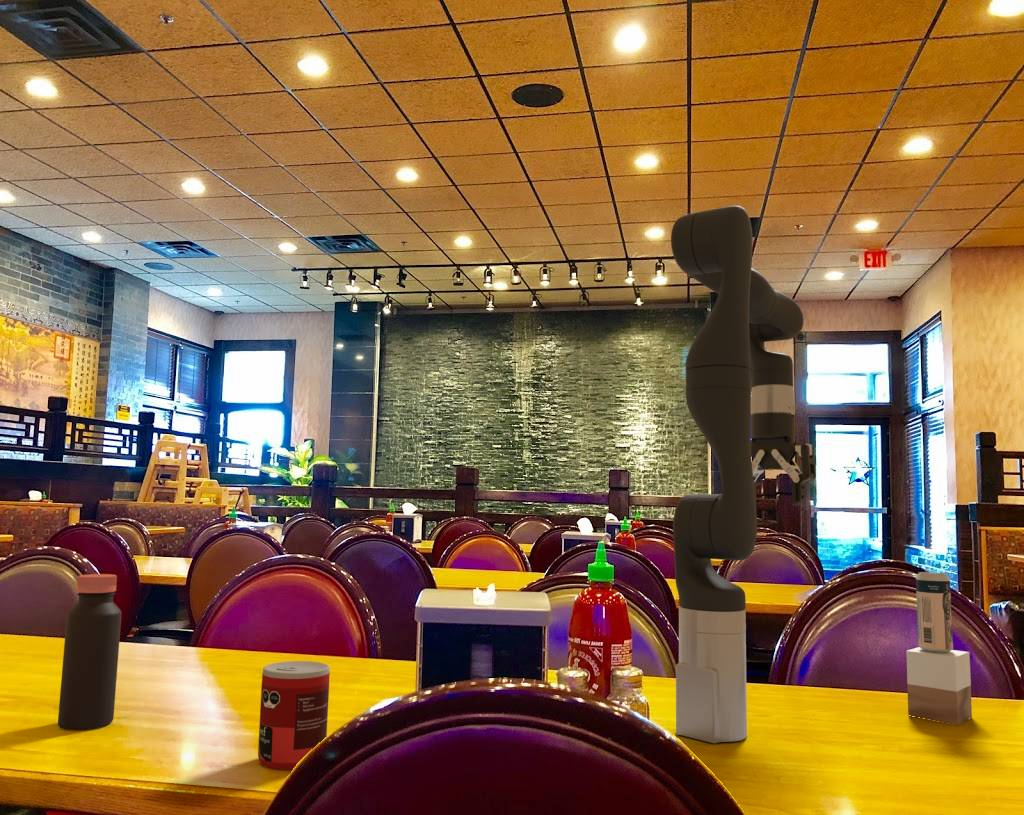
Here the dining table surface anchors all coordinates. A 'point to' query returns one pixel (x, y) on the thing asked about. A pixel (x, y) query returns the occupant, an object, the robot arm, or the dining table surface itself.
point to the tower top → (938, 669)
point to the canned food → (292, 712)
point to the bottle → (90, 655)
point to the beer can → (934, 612)
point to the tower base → (940, 704)
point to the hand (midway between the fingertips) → (774, 504)
